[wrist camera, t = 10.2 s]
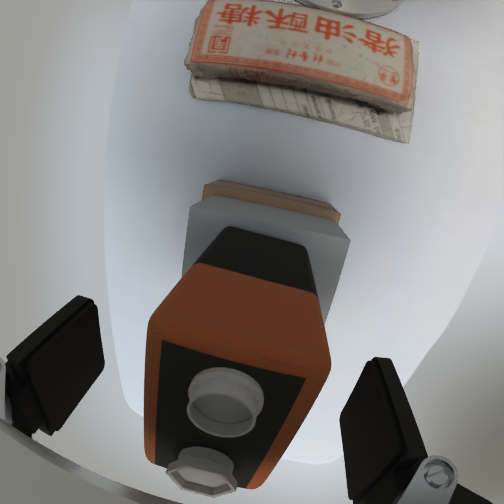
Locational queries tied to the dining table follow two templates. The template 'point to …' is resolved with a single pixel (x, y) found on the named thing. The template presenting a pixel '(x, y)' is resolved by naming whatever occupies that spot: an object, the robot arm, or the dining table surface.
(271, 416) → the battery
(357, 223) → the dining table surface
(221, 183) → the bottom block
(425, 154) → the dining table surface
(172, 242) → the dining table surface
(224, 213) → the top block
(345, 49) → the packaged product
